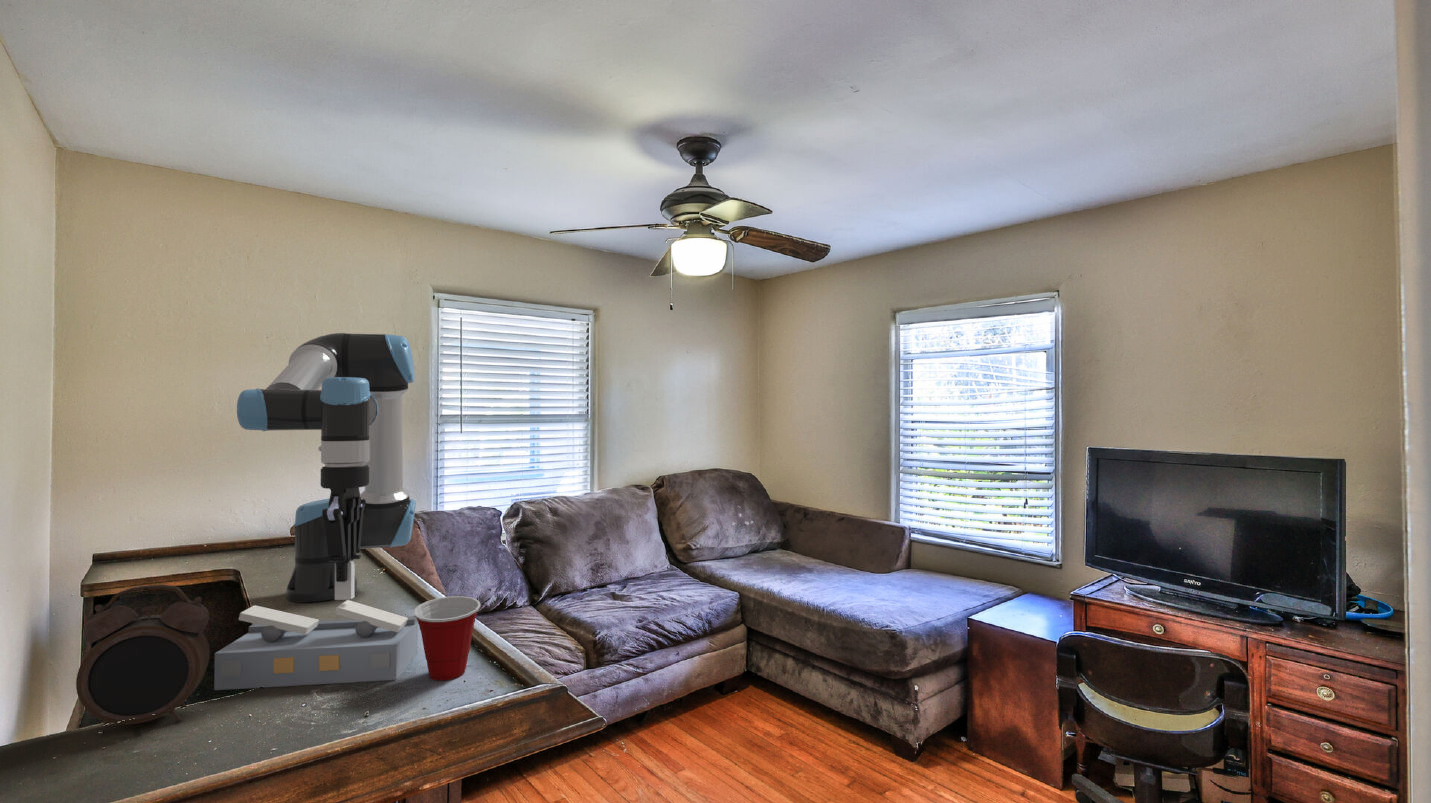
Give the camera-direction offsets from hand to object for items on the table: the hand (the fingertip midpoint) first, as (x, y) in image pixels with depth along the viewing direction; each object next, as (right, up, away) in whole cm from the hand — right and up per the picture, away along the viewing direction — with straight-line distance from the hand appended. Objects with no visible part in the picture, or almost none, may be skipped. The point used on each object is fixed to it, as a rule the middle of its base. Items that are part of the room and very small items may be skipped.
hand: (344, 598), depth 116 cm
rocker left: (-11, -6, -2) cm, 13 cm away
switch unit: (-4, -13, -1) cm, 13 cm away
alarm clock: (-18, -13, -20) cm, 29 cm away
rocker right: (+3, -6, 0) cm, 7 cm away
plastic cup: (+19, -13, -2) cm, 23 cm away
